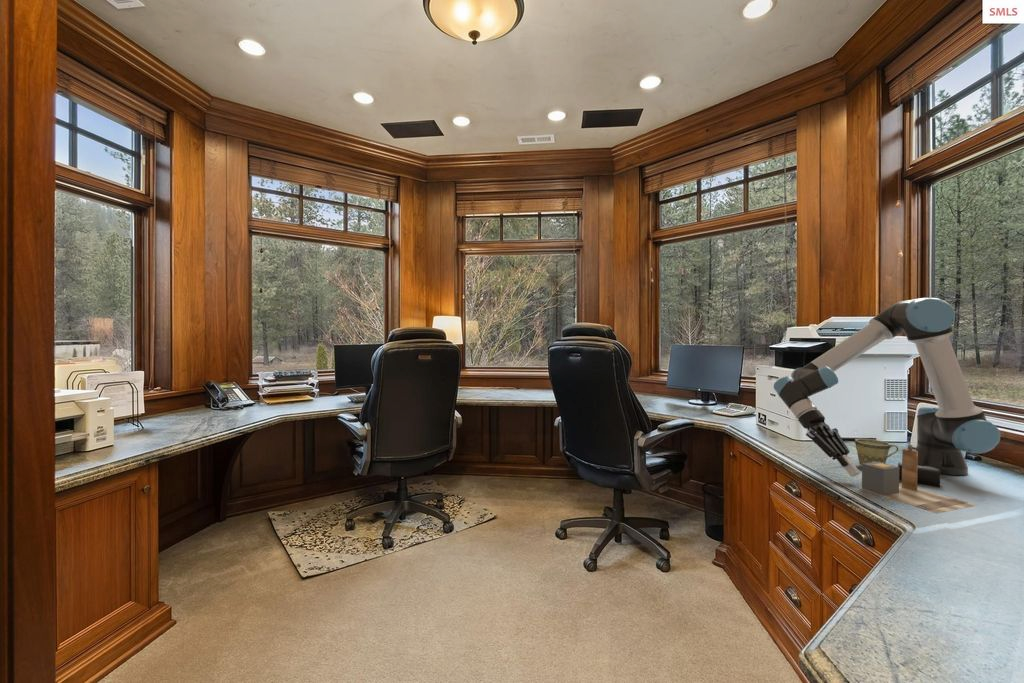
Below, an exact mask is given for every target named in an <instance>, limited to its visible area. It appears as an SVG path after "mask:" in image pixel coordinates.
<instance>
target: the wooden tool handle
mask: <svg viewBox="0 0 1024 683" xmlns="http://www.w3.org/2000/svg"><path fill="white" fill-rule="evenodd" d="M901 451H902V452H901V453H902V455H901V457H902V458H901V460H902V461H901V463H902V480H901V484H902V487H903V488H906V489H911V490H917V488H918V483H917V475H918V451H916V450H915V449H913V445H912V444H908V446H907V448H902V450H901Z"/></svg>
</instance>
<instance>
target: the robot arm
mask: <svg viewBox="0 0 1024 683" xmlns="http://www.w3.org/2000/svg"><path fill="white" fill-rule="evenodd" d="M955 319H956V312H955V310H954V308H953V306H952V305H951V304H950V303H949V302H947V301H945V300H943V299H941V298H937V297H920V298H915V299H914V298H913V299H908V300H901V301H899V302H896V303H894V304H891V306H889V307H888V308H885V310H883V311H881V312H880V313H878V314H877V315H876V316H874V317H873V318H870V320H869V322H868V324H867V325H865V326H864V327H862V328H860V329H859V330H858V331H857V332H855V333H853V334H852V335H850V336H848V337H847V338H845V339H844V340H842V341H840V342H839V343H838V344H837V345H835V346H834V347H832V348H831V349H829V350H827V351H826V352H824V353H822V354H821V355H820V356H818V357H816V358H815V359H813V360H812V361H810V362H809V363H807V364H805V365H803V367H797V368H795V369H794V370H793V371H792V373H791V375H790V376H788V375H787V376H784V377H781V378H779V379H777V380H776V381H775V382H774V384H773V389H774V391H775V393H776V394H777V395H778V397H779V398H780V399H781V400H782V401H783V403H784V404H785V405H786V406H787V408H788V409H789V411H790V412H791V413H792V415H794V417H795V418H796V419H797V420H798V422H799V424H800V425H801V426H802V427H803V428H804V429H806V430H808V432H807V433H805V435H806V437H807V438H809V439H810V440H812V441H813V442H814V444H815V445H817V447H819V448H820V449H821V451H823V452H824V453H825V455H826V456H828V458H831V459H832V460H833V461H835V460H837V461H838V463H839V464H840V465H841V467H843V468H844V470H845V471H846V473H847V474H848V475H849V476H850V477H851V478H854V477H856V476H858V475H860V474H862V471H860V470H859V468H858V467H857V466H856V464H854V462H853V461H852V460H851V458H850V457H849V456H848V455H849V454H850V450H849V447H848V446H847V444H846V443H845V442H844V440H843V438H842V437H841V435H840V433H839V430H838V428H836V427H834V428H831V427H830V425H829V424H828V423H826V422H825V421H826V418H825V415H823V413H822V412H821V411H820V410H819V409H818V408H817V406H816V405H815V404H814V403H813V401H812V400H811V399H810V398H809V397H812V396H814V395H816V394H818V393H821V392H823V391H825V390H827V389H831V388H832V387H834V386H836V385H838V384H839V378H838V375H837V374H836V373H835V372H836V371H837V370H839V369H840V368H843V367H844V366H846V365H847V364H848V363H850V362H852V361H854V360H855V359H857V358H858V357H859V356H861V355H862V354H864V353H866V352H867V351H869V350H871V349H872V348H874V347H875V346H877V345H879V344H880V343H881V342H883V341H886V340H892V339H893V338H895V337H897V336H899V335H901V334H905V335H906V339H907V341H908V342H911V343H913V344H915V346H916V349H917V352H918V355H919V357H920V360H921V363H922V366H923V369H924V371H925V374H926V377H927V380H928V382H929V385H930V387H931V390H932V394H933V395H934V398H935V402H936V404H937V407H930V406H929V407H928V406H921V407H919V408H918V411H917V415H916V418H917V422H916V423H917V424H916V425H917V426H916V428H917V430H916V432H917V435H916V447H915V449H914V450H916V451H918V465H919V466H929V467H935V468H937V469H940V474H941V473H943V475H949V474H950V475H951V476H966V475H968V474H969V466H968V465H967V464H968V463H967V462H966V460H965V457H964V455H963V452H965V453H969V454H985V453H987V452H990V451H992V450H994V449H995V448H996V447H997V445H999V443H1000V440H1001V431H1000V430H999V428H998V427H997V426H996V425H995V424H994V423H992V422H991V421H989V420H987V418H986V415H985V412H984V410H983V408H982V407H979V406H977V405H975V404H974V402H973V401H974V400H973V399H972V396H971V393H970V391H969V387H968V385H967V382H966V380H965V377H964V374H963V372H962V369H961V366H960V364H959V361H958V358H957V355H956V353H955V350H954V348H953V345H952V342H951V340H950V338H951V337H950V336H951V335H952V334H953V333H954V330H953V327H952V326H953V323H954V322H955Z"/></svg>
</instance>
